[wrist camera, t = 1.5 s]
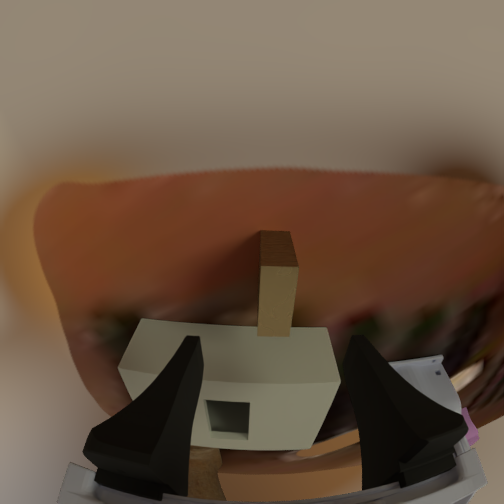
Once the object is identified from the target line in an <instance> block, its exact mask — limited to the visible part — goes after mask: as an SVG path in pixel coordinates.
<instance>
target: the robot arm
mask: <svg viewBox="0 0 504 504" xmlns="http://www.w3.org/2000/svg"><path fill="white" fill-rule="evenodd" d="M442 360H443V356H442V355H437V356H431V357H425V358H418V359H411V360H404V361H396V362H387V361H386V360H385V359H384V358H383V357H382V356H381V354H380V353H379V352H378V351H377V350H376V349H375V348H374V346H373V345H372V344H371V343H370V342H369V341H368V339H367V338H366V337H365V336H364V335H352V337H351V340H350V343H349V346H348V349H347V352H346V355H345V358H344V361H343V368H344V375H345V381H346V384H347V388H348V391H349V395H350V398H351V402H352V405H353V408H354V412H355V415H356V419H357V424H358V431H359V438H360V447H361V458H362V491H358V492H353V493H348V494H342V495H336V496H330V497H324V498H315V499H306V500H294V501H279V502H278V501H277V502H237V501H219V500H208V499H198V498H190V497H187V496H188V475H189V458H190V445H191V435H192V427H193V421H194V416H195V412H196V408H197V403H198V399H199V395H200V390H201V386H202V380H203V371H204V360H203V354H202V347H201V340H200V336H190V335H187V336H186V337H185V338H184V340H183V341H182V343H181V345H180V346H179V348H178V349H177V351H176V352H175V354H174V355H173V357H172V358H171V359H170V361H169V362H168V364H167V365H166V366H165V368H164V369H163V370H162V371H161V372H160V374H159V375H158V376H157V377H156V378H155V380H154V381H153V382H152V383H151V384H150V385H149V386H148V387H147V388H146V389H145V390H144V391H143V392H142V393H141V394H140V395H139V396H138V397H137V398H136V399H135V400H133V401H132V402H131V403H130V404H129V405H127V406H126V407H125V408H124V409H122V410H121V411H119V412H118V413H117V414H115V415H114V416H112V417H111V418H109V419H108V420H106V421H104V422H103V423H101V424H99V425H97V426H96V427H94V428H92V430H91V432H90V433H89V435H88V438H87V440H86V443H85V446H84V449H83V454H84V456H85V457H86V458H87V459H88V460H90V461H91V462H92V463H93V464H94V465H95V466H97V467H98V469H97V472H94V471H92V470H90V469H88V468H85V467H82V466H79V465H77V464H74V463H71V462H70V463H69V465H68V468H67V471H66V474H65V477H64V480H63V483H62V487H61V490H60V493H59V497H58V500H57V503H58V504H468V503H469V501H470V500H471V499H472V497H473V496H474V494H475V493H476V491H477V490H479V489H480V488H482V487H483V486H485V485H487V479H486V476H485V474H484V471H483V468H482V465H481V462H480V460H479V457H478V454H477V452H476V449H475V448H472V449H471V448H470V446H469V443H468V441H467V439H466V436H465V435H466V434H467V432H468V430H469V428H468V426H467V424H466V421H465V419H464V417H463V415H461V402H460V399H459V396H458V394H457V392H456V390H455V388H454V387H453V385H452V383H451V381H450V379H449V377H448V375H447V373H446V371H445V370H444V368H443V366H442V364H441V362H442Z"/></svg>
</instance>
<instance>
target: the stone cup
mask: <svg viewBox="0 0 504 504" xmlns="http://www.w3.org/2000/svg"><path fill="white" fill-rule="evenodd" d="M221 466H222V459H221V455H220V451H219V448H212V447H202V446H194V445H190V458H189V475H188V496H187V497H190V498H198V499H208V500H219V501H226V498H225V496H224V493H223V491H222V488H221V485H220V482H219V479H218V475H217V472H218V470H219V469H220V467H221Z"/></svg>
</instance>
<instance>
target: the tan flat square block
mask: <svg viewBox="0 0 504 504" xmlns="http://www.w3.org/2000/svg"><path fill="white" fill-rule="evenodd" d="M298 271H299V265H298V261H297V257H296V253H295V249H294V246H293V242H292V238H291V234H290V231H267V230H261V232H260V254H259V275H258V309H257V336H265V337H289V336H290V329H291V322H292V315H293V308H294V301H295V294H296V286H297V279H298Z"/></svg>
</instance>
